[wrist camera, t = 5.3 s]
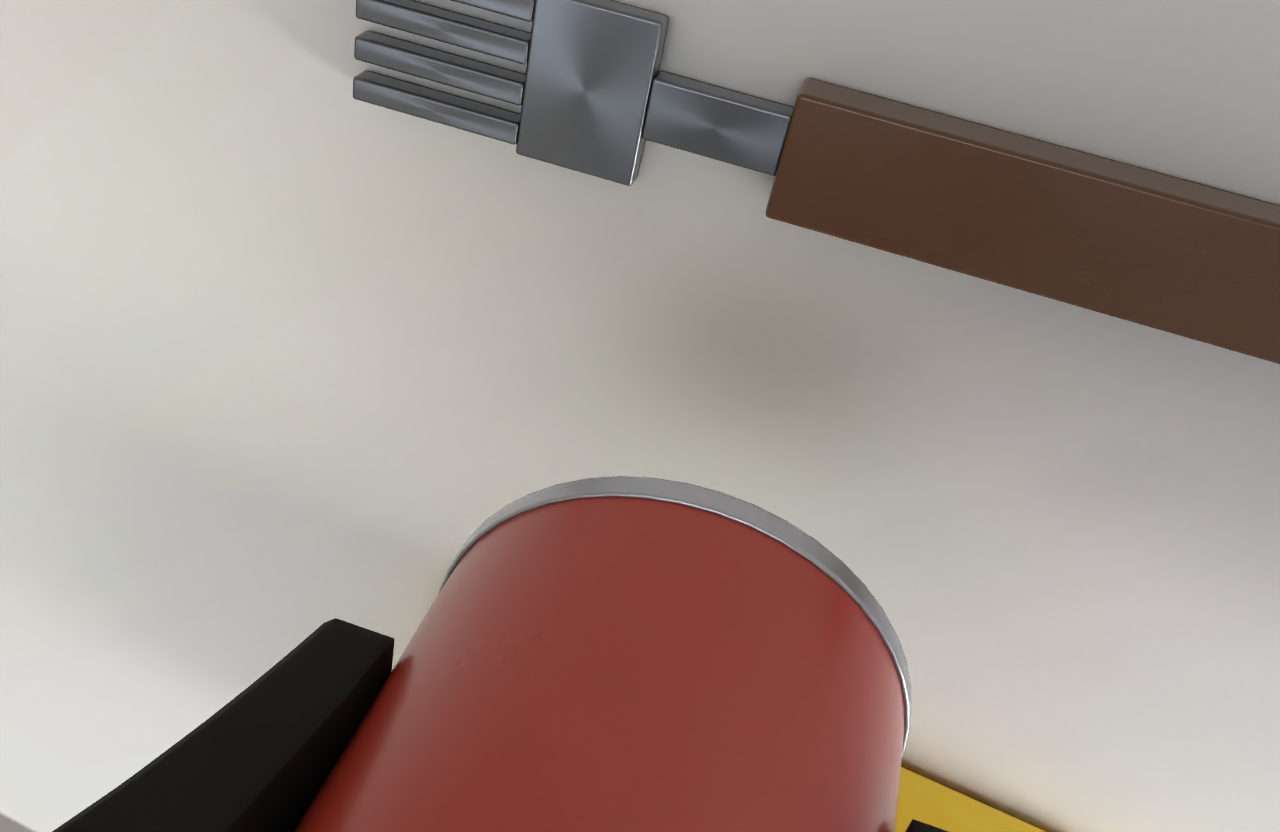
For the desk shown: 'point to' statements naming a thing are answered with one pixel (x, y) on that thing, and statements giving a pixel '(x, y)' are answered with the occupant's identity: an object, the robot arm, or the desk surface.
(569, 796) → the tin can
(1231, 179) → the desk surface
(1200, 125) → the desk surface
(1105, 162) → the fork
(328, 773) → the robot arm
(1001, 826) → the dish sponge
